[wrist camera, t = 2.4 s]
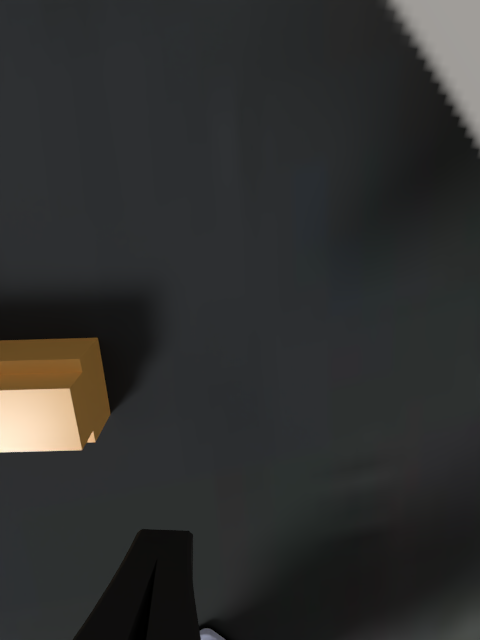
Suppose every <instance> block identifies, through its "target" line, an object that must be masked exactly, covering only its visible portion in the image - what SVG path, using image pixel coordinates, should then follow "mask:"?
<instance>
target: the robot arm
mask: <svg viewBox="0 0 480 640" xmlns="http://www.w3.org/2000/svg"><path fill="white" fill-rule="evenodd" d="M192 577H193V534H192V533H190V532H189V531H176V530H148V529H142V530H140V531H139V532H138V533H137V535H136V537H135V539H134V541H133V543H132V545H131V547H130V549H129V551H128V552H127V554H126V556H125V558H124V560H123V562H122V563H121V565H120V567H119V569H118V570H117V572H116V574H115V575H114V577H113V579H112V580H111V582H110V584H109V585H108V587H107V588H106V590H105V592H104V593H103V595H102V596H101V598H100V600H99V601H98V603H97V604H96V606H95V608H94V609H93V611H92V612H91V614H90V615H89V617H88V618H87V620H86V621H85V623H84V624H83V626H82V627H81V628H80V630H79V631H78V633H77V634H76V636H75V637H74V638H73V640H226V639H224V638H223V637H221V636H220V635H219V634H217V633H216V632H214V631H213V630H211V629H209V628H204V629H202V630H200V631H199V625H198V619H197V612H196V605H195V599H194V590H193V580H192Z"/></svg>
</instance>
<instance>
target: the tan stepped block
mask: <svg viewBox="0 0 480 640" xmlns="http://www.w3.org/2000/svg"><path fill="white" fill-rule="evenodd" d="M110 414H111V413H110V407H109V401H108V395H107V389H106V383H105V377H104V371H103V365H102V359H101V353H100V347H99V341H98V338H69V339H35V340H1V341H0V452H30V451H69V450H82V449H83V448H84V446H85V444H86V442H96V440H97V438H98V436H99V434H100V433H101V431H102V429H103V427H104V425H105V423H106V421H107V420H108V418H109V416H110Z"/></svg>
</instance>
